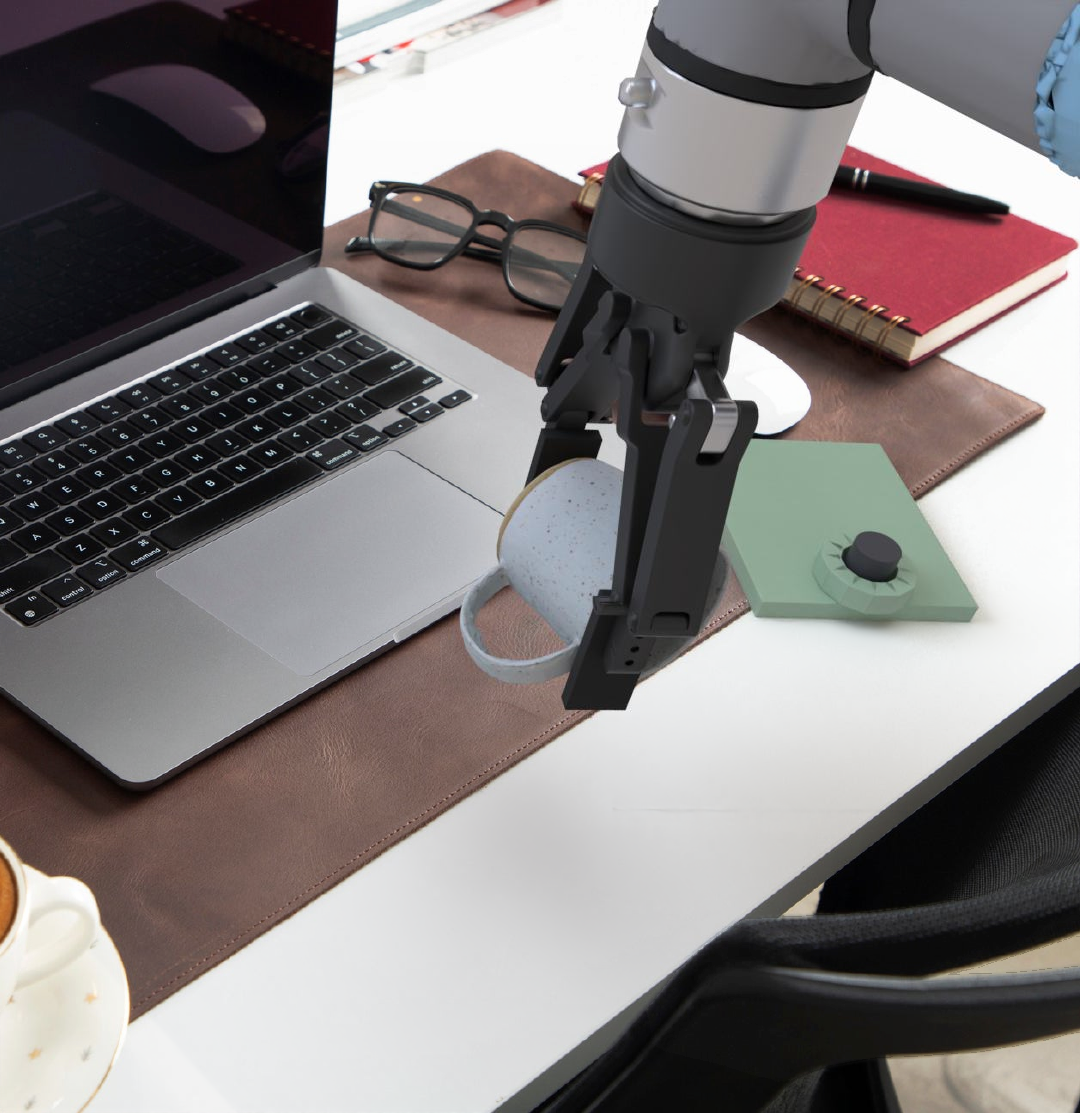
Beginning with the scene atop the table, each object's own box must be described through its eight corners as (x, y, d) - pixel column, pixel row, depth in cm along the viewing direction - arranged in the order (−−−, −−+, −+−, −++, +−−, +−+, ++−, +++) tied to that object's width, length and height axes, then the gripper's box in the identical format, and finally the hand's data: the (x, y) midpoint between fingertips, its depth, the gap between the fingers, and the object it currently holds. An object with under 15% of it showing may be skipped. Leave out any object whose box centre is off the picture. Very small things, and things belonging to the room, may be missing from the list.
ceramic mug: (586, 544, 71) (625, 419, 66) (706, 651, 67) (758, 525, 61) (414, 615, 67) (442, 487, 62) (529, 735, 62) (570, 607, 57)
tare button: (898, 583, 88) (909, 563, 87) (854, 582, 88) (865, 561, 87) (880, 552, 90) (891, 531, 89) (837, 551, 90) (848, 530, 89)
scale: (975, 633, 90) (997, 598, 88) (759, 628, 88) (776, 593, 86) (872, 458, 102) (889, 424, 100) (680, 451, 100) (694, 417, 98)
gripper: (543, 35, 59) (442, 460, 74) (712, 354, 43) (539, 815, 58) (718, 46, 60) (583, 463, 75) (949, 362, 44) (718, 815, 59)
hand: (564, 616), depth 67 cm, fingers closed on ceramic mug, 10 cm apart
